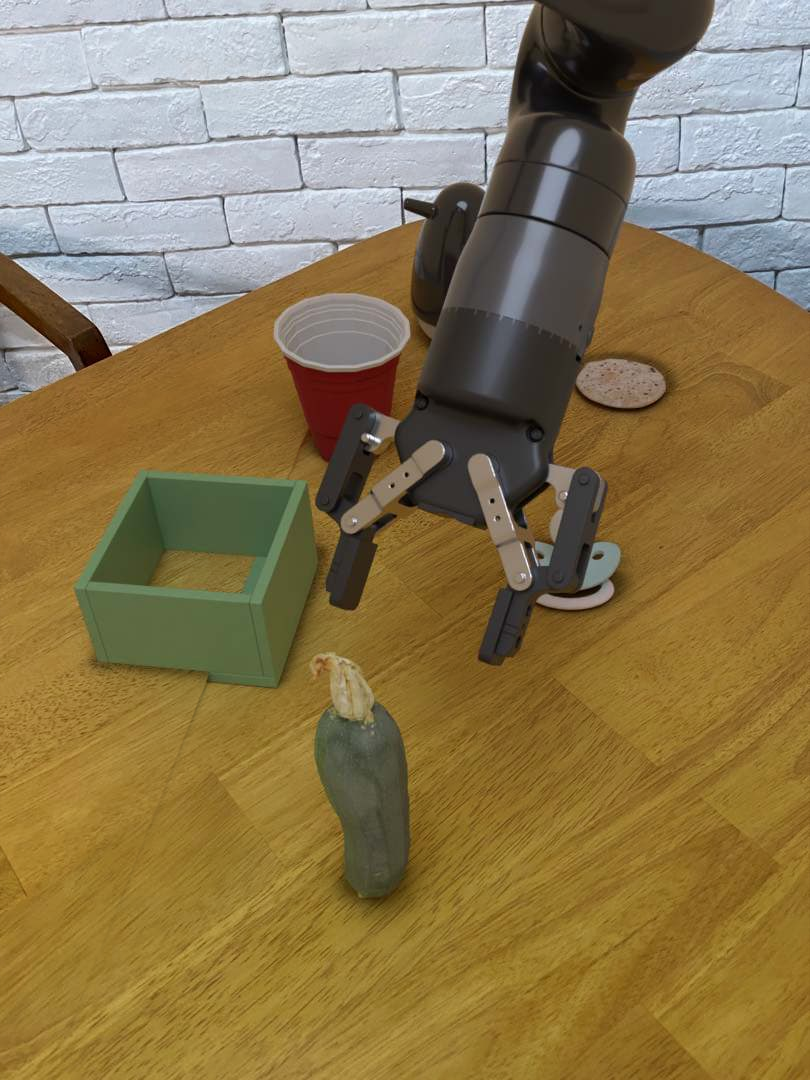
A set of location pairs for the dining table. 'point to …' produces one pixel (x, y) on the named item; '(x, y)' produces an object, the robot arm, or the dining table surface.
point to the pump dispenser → (440, 247)
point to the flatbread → (621, 383)
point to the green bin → (195, 615)
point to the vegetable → (363, 778)
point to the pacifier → (594, 575)
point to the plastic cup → (341, 358)
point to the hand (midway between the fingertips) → (413, 635)
